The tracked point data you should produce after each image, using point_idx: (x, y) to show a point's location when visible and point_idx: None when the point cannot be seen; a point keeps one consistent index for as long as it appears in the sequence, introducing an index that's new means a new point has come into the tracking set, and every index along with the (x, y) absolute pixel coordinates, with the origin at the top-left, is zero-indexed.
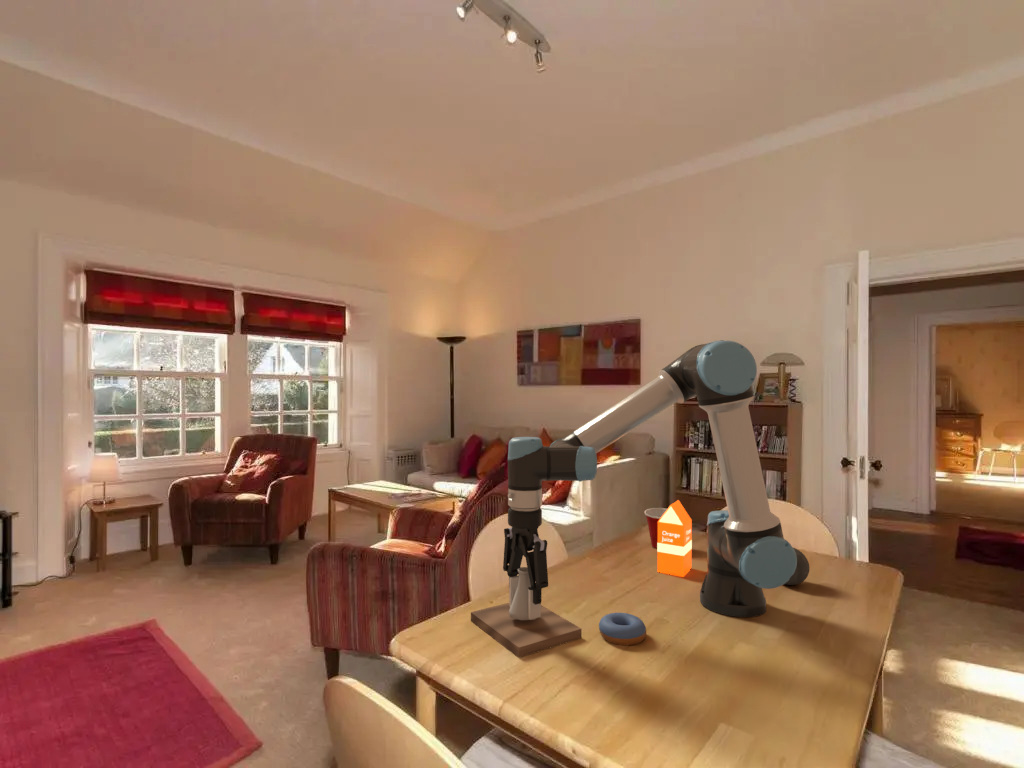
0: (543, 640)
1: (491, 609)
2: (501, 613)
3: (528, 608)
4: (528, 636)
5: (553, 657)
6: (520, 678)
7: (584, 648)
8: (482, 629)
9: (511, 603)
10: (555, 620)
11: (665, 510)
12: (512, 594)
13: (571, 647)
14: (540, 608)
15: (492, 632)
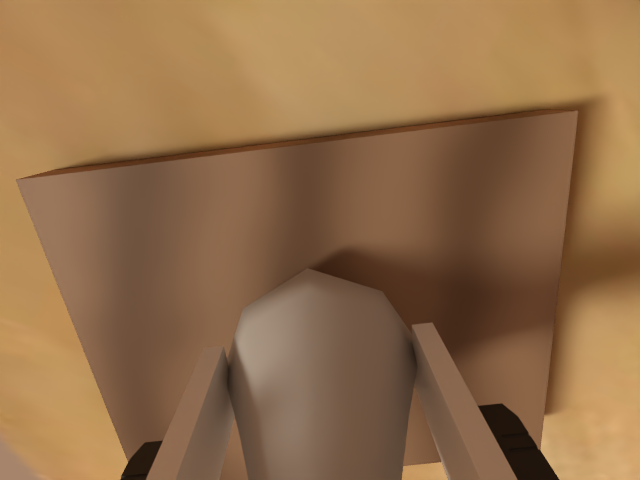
0: (550, 349)
1: (137, 417)
2: None
3: (432, 430)
4: (482, 387)
5: (598, 317)
6: (627, 458)
7: (632, 158)
8: None
9: (233, 419)
10: (402, 194)
11: None
12: (218, 460)
13: (584, 209)
14: (448, 354)
15: None
